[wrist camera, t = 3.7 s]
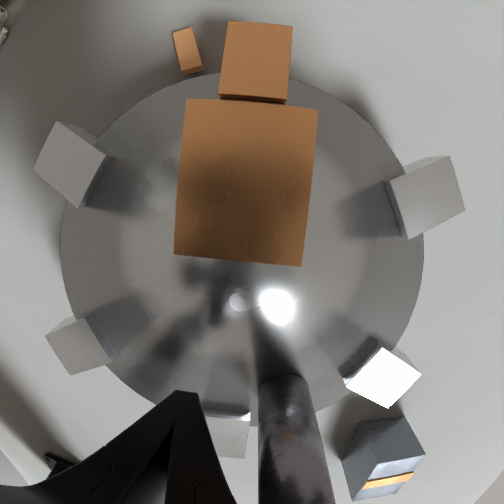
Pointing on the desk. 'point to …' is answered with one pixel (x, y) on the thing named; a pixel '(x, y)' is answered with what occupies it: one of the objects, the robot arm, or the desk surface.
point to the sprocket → (245, 254)
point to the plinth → (187, 51)
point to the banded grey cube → (381, 458)
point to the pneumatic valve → (0, 18)
